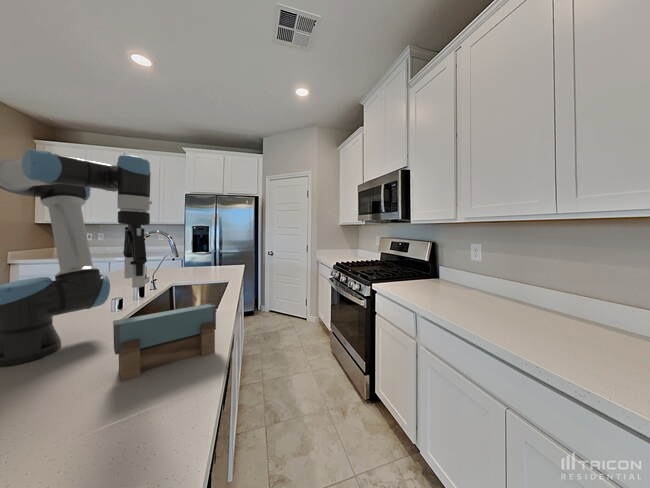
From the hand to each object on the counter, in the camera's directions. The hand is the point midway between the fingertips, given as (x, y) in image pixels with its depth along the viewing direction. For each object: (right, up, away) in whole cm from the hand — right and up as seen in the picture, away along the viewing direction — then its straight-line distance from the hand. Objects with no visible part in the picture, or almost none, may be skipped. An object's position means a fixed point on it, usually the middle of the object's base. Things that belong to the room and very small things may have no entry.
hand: (134, 282), depth 75 cm
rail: (+10, -17, +1) cm, 20 cm away
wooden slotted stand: (+10, -24, +2) cm, 26 cm away
